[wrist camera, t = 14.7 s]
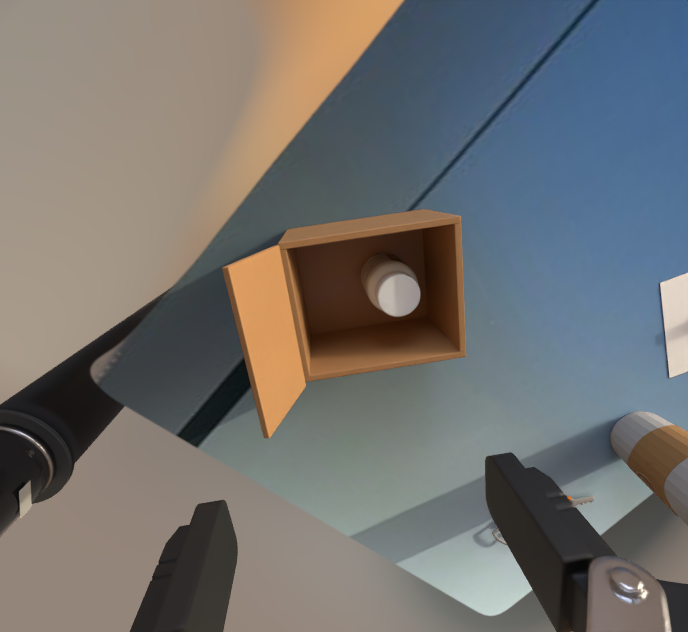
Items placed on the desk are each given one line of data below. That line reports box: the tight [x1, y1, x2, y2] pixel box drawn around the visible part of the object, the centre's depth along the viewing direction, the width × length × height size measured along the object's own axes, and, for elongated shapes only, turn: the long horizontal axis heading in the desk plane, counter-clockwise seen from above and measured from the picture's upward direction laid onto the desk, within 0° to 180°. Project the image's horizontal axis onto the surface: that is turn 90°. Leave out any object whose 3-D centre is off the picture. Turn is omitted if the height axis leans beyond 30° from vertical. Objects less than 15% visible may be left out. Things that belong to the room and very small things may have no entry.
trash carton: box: [278, 209, 466, 382], centre depth 33 cm, size 13×11×10 cm
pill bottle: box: [361, 253, 420, 317], centre depth 33 cm, size 4×4×8 cm
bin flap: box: [222, 245, 306, 438], centre depth 25 cm, size 6×11×1 cm
